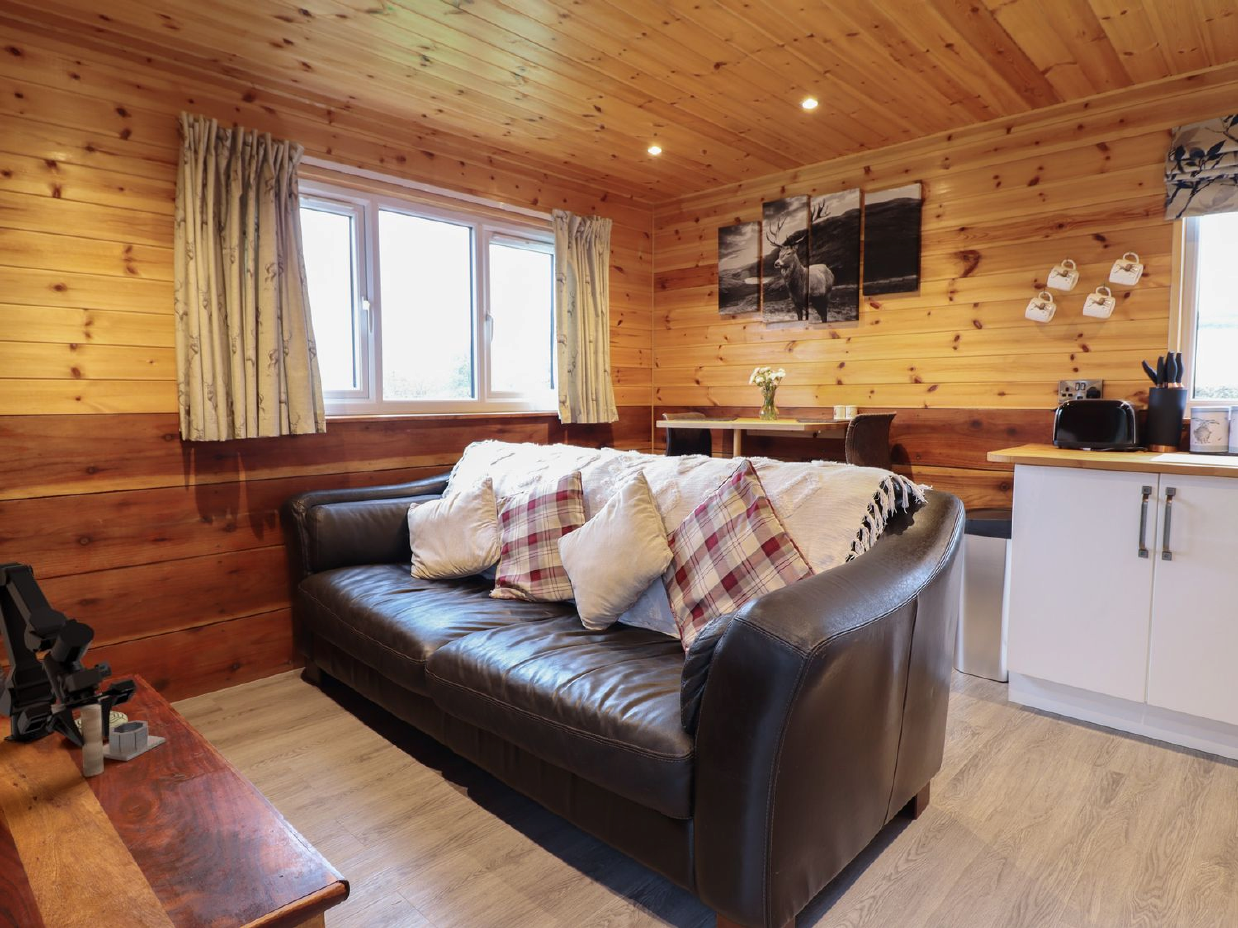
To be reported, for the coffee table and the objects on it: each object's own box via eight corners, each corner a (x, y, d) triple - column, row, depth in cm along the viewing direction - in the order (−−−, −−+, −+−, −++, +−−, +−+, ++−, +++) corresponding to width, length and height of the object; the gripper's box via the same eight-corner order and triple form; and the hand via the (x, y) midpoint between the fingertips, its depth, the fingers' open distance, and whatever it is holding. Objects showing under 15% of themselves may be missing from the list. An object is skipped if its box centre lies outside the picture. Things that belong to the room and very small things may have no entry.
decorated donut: (87, 749, 152) (86, 732, 152) (57, 739, 157) (56, 722, 156) (138, 729, 162) (137, 713, 161) (108, 720, 166) (107, 704, 166)
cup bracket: (92, 755, 149) (91, 733, 149) (131, 736, 158) (131, 716, 158) (126, 760, 147) (126, 739, 147) (165, 741, 156) (164, 720, 155)
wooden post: (79, 775, 141) (76, 710, 140) (95, 767, 144) (92, 703, 143) (92, 777, 140) (89, 711, 139) (107, 769, 143) (104, 705, 142)
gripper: (20, 666, 135) (49, 738, 130) (131, 639, 150) (160, 703, 145) (5, 698, 139) (32, 769, 134) (114, 669, 155) (142, 731, 150)
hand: (95, 741), depth 141 cm, fingers open, 4 cm apart
